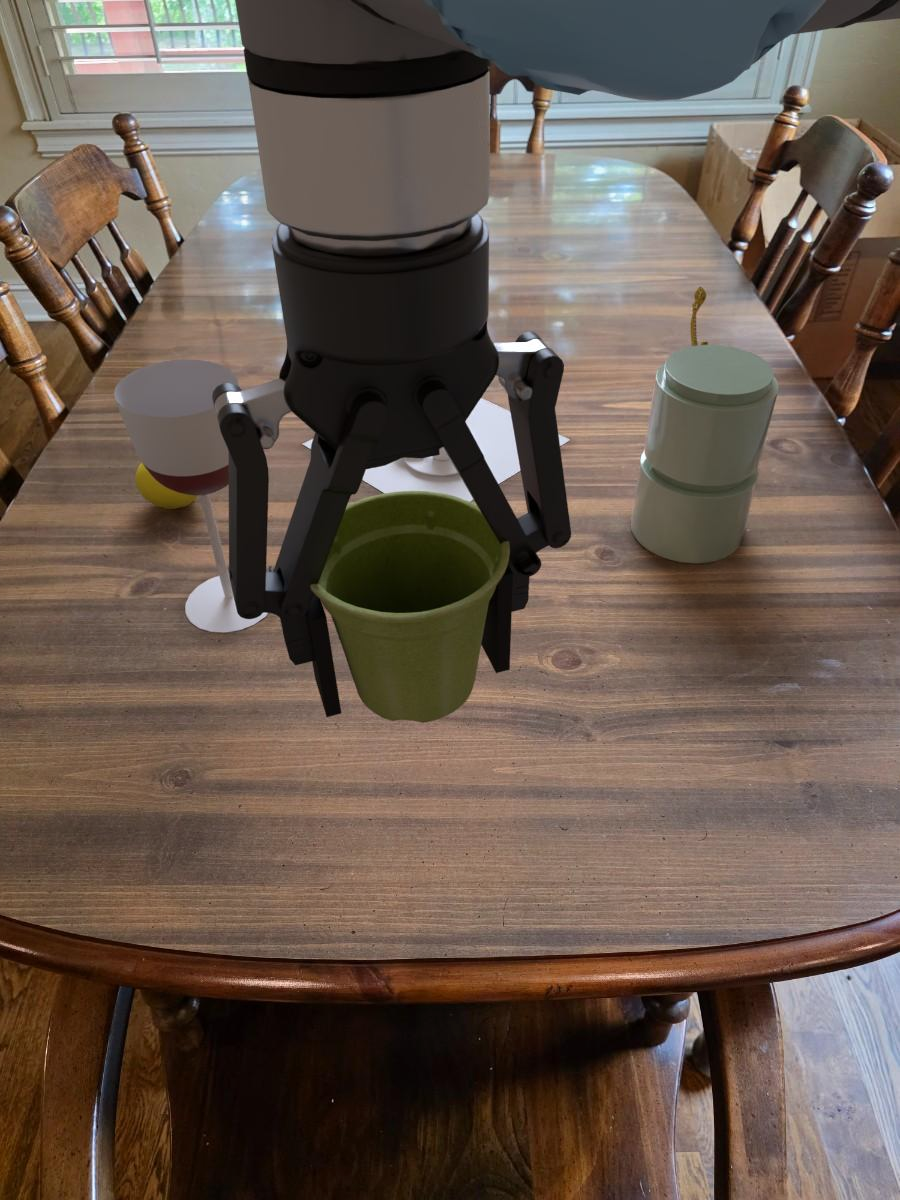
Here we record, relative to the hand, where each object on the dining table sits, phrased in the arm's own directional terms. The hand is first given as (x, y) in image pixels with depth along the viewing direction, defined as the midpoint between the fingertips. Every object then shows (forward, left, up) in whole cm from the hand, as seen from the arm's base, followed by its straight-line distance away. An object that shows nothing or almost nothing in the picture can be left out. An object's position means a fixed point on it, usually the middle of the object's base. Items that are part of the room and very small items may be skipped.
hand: (412, 674), depth 45 cm
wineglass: (+28, +9, -16) cm, 33 cm away
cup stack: (+24, -32, -16) cm, 43 cm away
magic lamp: (+41, -44, -16) cm, 62 cm away
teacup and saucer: (+46, -15, -16) cm, 51 cm away
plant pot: (0, 0, 0) cm, 1 cm away
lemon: (+44, +12, -16) cm, 48 cm away
